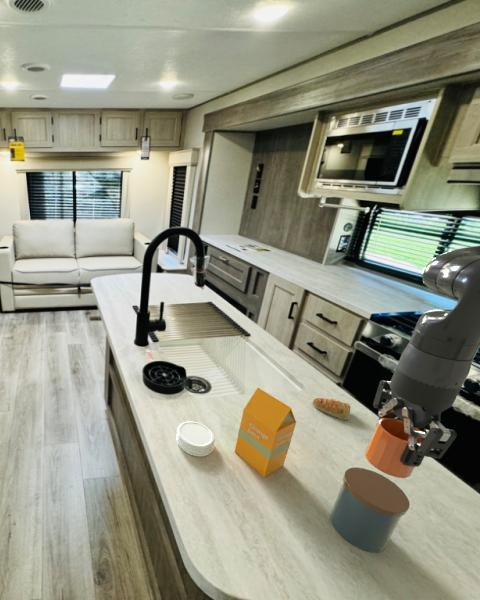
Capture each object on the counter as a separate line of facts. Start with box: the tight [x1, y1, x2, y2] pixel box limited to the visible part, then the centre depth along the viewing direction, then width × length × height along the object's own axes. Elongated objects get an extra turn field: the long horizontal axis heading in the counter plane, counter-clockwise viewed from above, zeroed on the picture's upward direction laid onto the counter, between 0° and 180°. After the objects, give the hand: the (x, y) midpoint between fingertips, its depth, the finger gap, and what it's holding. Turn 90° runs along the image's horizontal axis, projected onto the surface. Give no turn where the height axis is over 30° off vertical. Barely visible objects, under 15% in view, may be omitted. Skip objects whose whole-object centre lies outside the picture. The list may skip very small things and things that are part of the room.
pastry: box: [312, 397, 351, 421], centre depth 98 cm, size 9×7×4 cm
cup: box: [364, 418, 423, 479], centre depth 58 cm, size 6×6×8 cm
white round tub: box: [175, 420, 216, 457], centre depth 87 cm, size 10×10×4 cm
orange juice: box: [234, 387, 297, 478], centre depth 79 cm, size 8×9×20 cm
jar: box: [329, 466, 411, 554], centre depth 64 cm, size 10×10×12 cm
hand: (394, 448), depth 58 cm, fingers closed on cup, 6 cm apart
